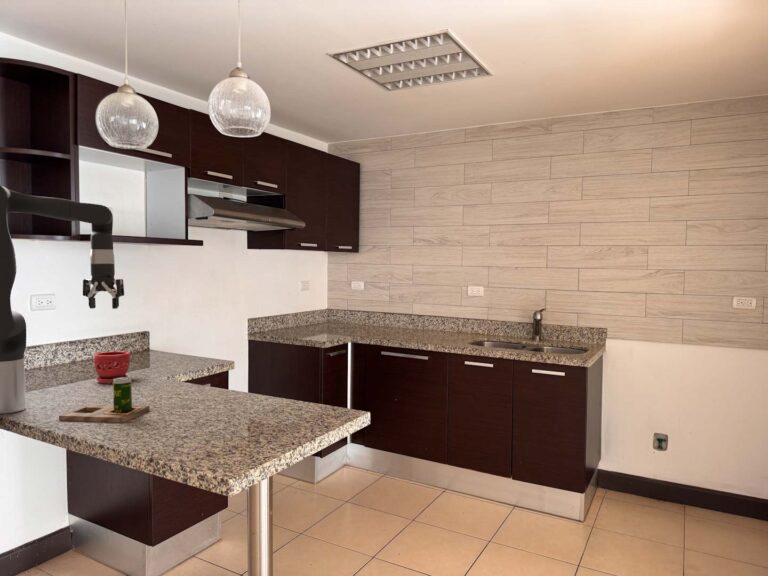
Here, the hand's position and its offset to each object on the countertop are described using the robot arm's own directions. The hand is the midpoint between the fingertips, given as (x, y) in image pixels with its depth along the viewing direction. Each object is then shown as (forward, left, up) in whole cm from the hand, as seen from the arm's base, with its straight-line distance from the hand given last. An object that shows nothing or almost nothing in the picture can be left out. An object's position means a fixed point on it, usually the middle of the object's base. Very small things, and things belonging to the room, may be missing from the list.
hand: (104, 308), depth 195 cm
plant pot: (-18, +31, -33) cm, 49 cm away
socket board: (+11, -17, -33) cm, 39 cm away
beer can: (+17, -17, -33) cm, 41 cm away
